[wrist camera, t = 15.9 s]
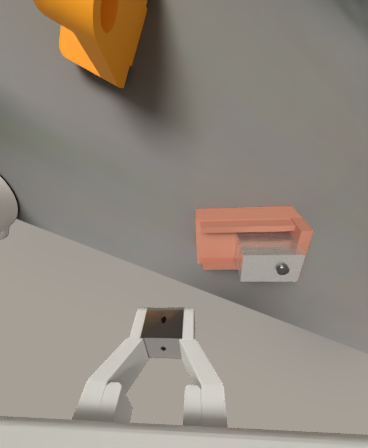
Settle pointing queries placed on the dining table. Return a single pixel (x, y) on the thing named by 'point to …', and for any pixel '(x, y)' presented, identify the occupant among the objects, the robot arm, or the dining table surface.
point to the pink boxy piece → (242, 222)
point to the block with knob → (268, 257)
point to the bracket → (98, 33)
